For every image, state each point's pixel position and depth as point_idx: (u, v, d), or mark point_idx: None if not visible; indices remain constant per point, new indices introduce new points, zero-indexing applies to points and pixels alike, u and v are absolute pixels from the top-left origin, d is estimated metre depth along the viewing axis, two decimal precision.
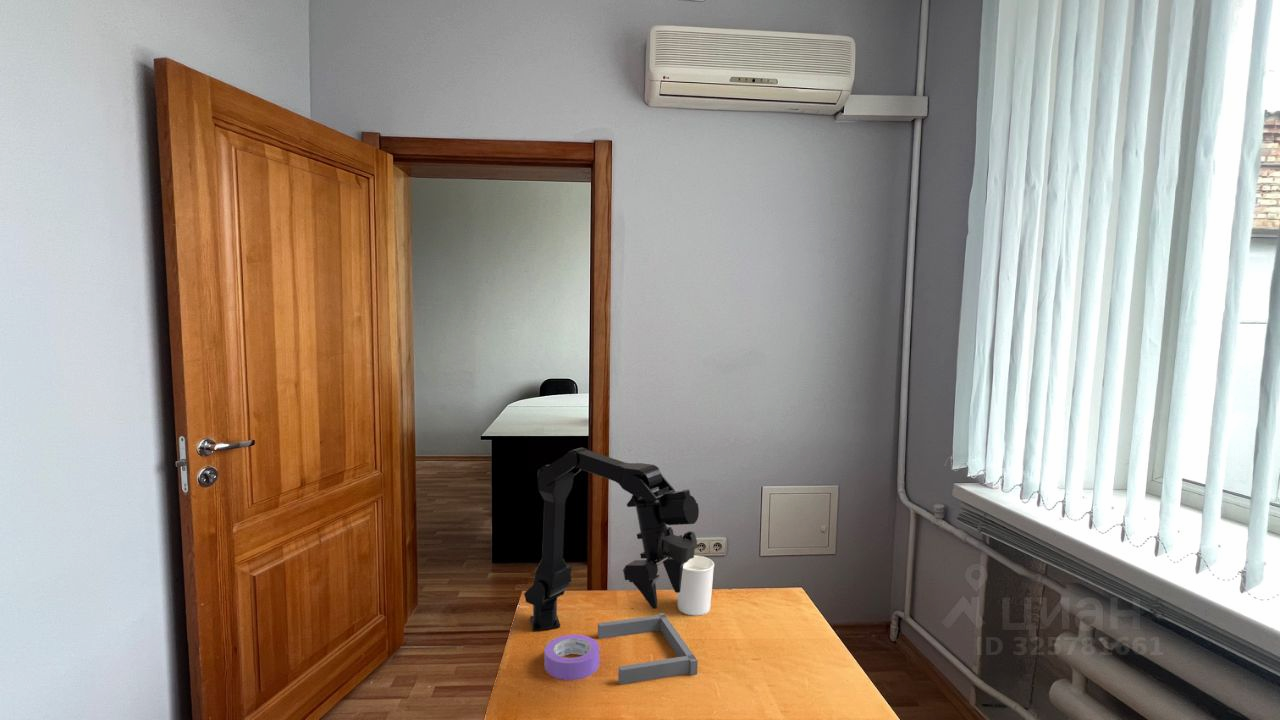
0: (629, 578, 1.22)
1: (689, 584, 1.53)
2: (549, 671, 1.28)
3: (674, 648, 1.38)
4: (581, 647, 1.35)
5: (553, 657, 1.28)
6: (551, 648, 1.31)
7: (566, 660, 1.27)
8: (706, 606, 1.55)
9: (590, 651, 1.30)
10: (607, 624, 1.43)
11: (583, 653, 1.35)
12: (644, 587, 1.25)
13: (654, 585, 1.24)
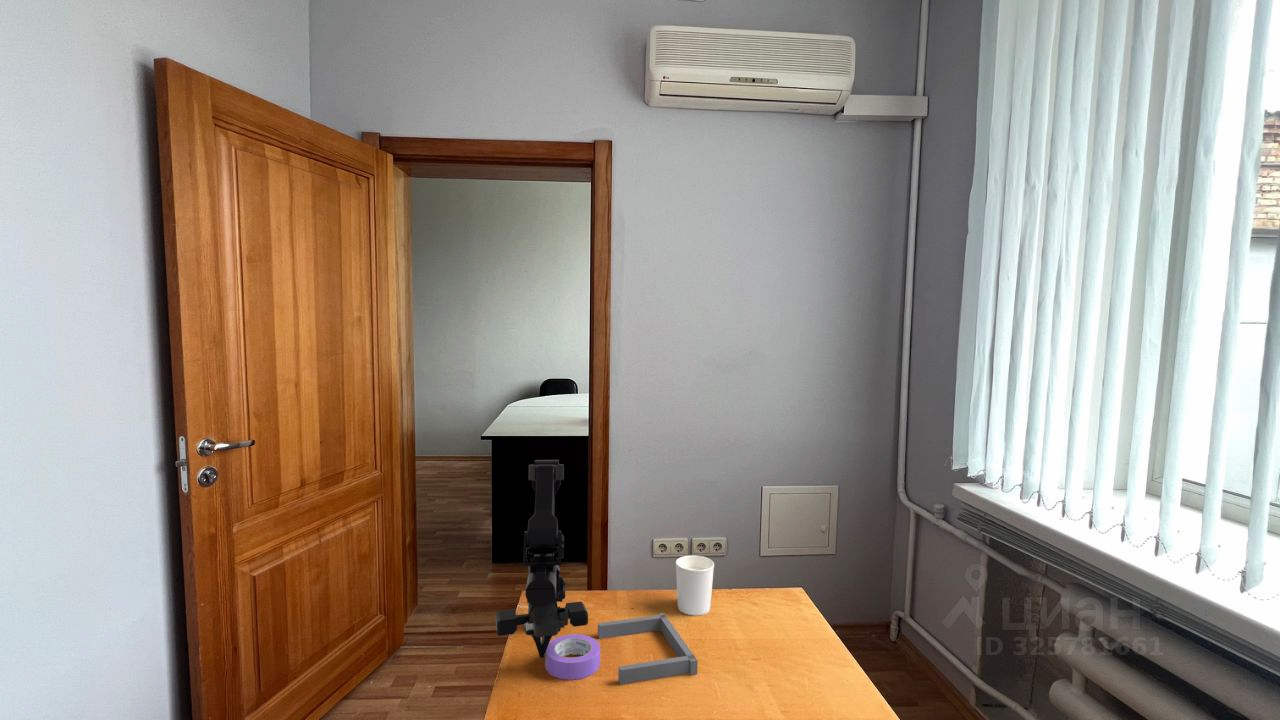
0: None
1: (689, 584, 1.53)
2: (550, 671, 1.28)
3: (674, 648, 1.38)
4: (582, 647, 1.35)
5: (554, 657, 1.28)
6: (552, 648, 1.31)
7: (567, 660, 1.27)
8: (706, 606, 1.55)
9: (591, 650, 1.31)
10: (607, 624, 1.43)
11: (584, 653, 1.35)
12: None
13: (538, 638, 1.28)
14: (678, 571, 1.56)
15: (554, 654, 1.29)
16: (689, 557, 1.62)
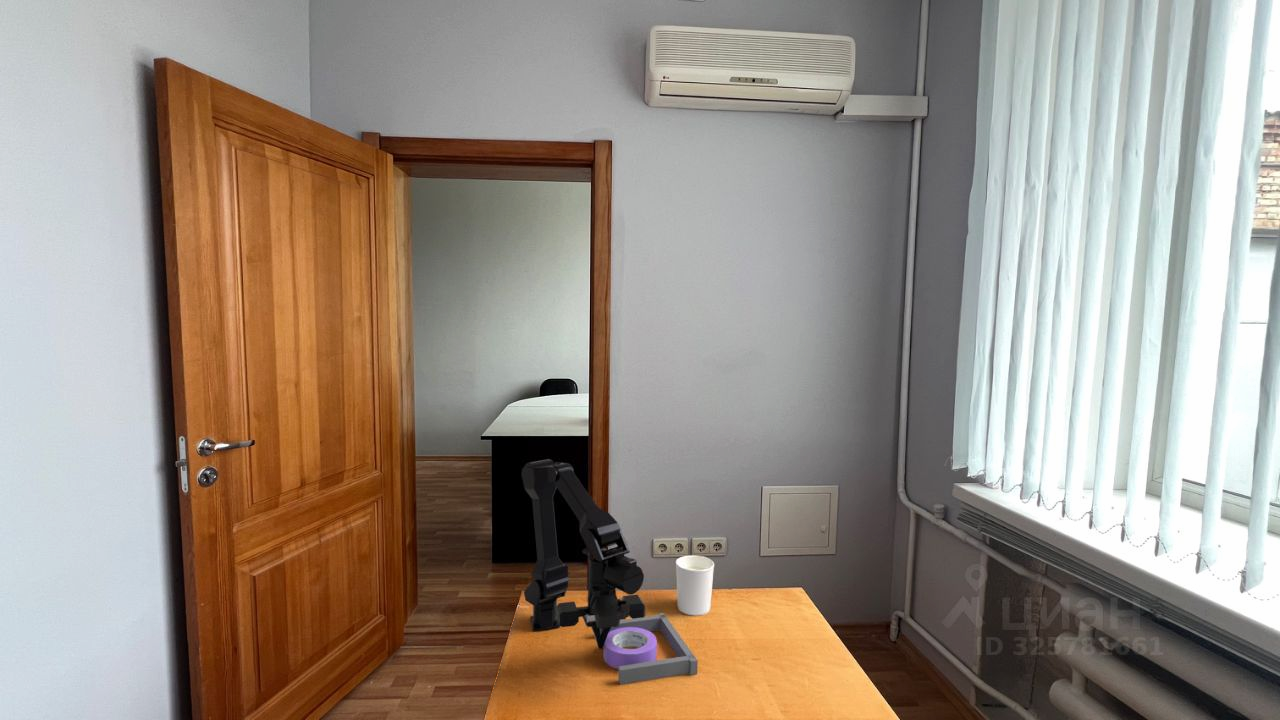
0: (556, 615, 1.32)
1: (689, 584, 1.53)
2: (609, 661, 1.32)
3: (674, 648, 1.38)
4: (638, 640, 1.39)
5: (613, 648, 1.31)
6: (610, 640, 1.35)
7: (625, 651, 1.30)
8: (706, 606, 1.55)
9: (648, 643, 1.34)
10: None
11: (640, 645, 1.38)
12: None
13: (597, 630, 1.31)
14: (678, 571, 1.56)
15: (612, 645, 1.33)
16: (689, 557, 1.62)
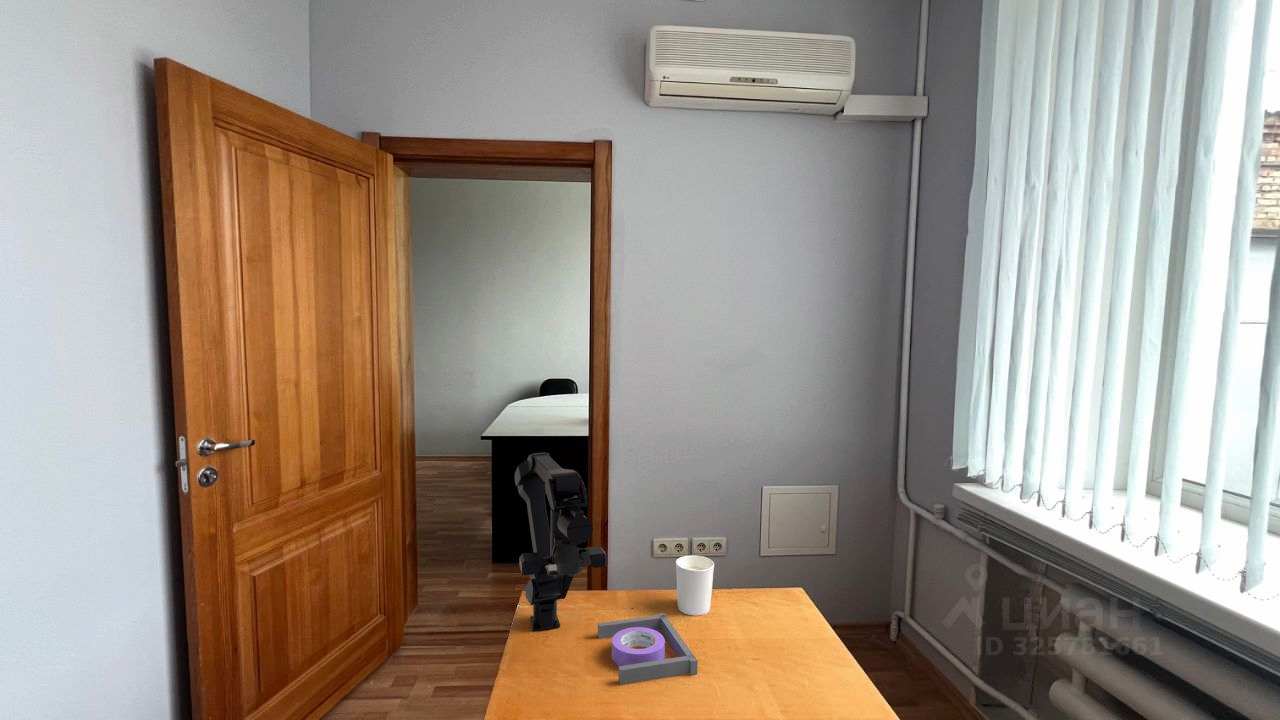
0: (519, 565, 1.34)
1: (689, 584, 1.53)
2: (617, 661, 1.32)
3: (674, 648, 1.38)
4: (646, 640, 1.39)
5: (621, 648, 1.32)
6: (618, 639, 1.35)
7: (633, 651, 1.31)
8: (706, 606, 1.55)
9: (656, 643, 1.34)
10: (607, 624, 1.43)
11: (648, 645, 1.39)
12: None
13: (560, 579, 1.34)
14: (678, 571, 1.56)
15: (620, 645, 1.33)
16: (689, 557, 1.62)
